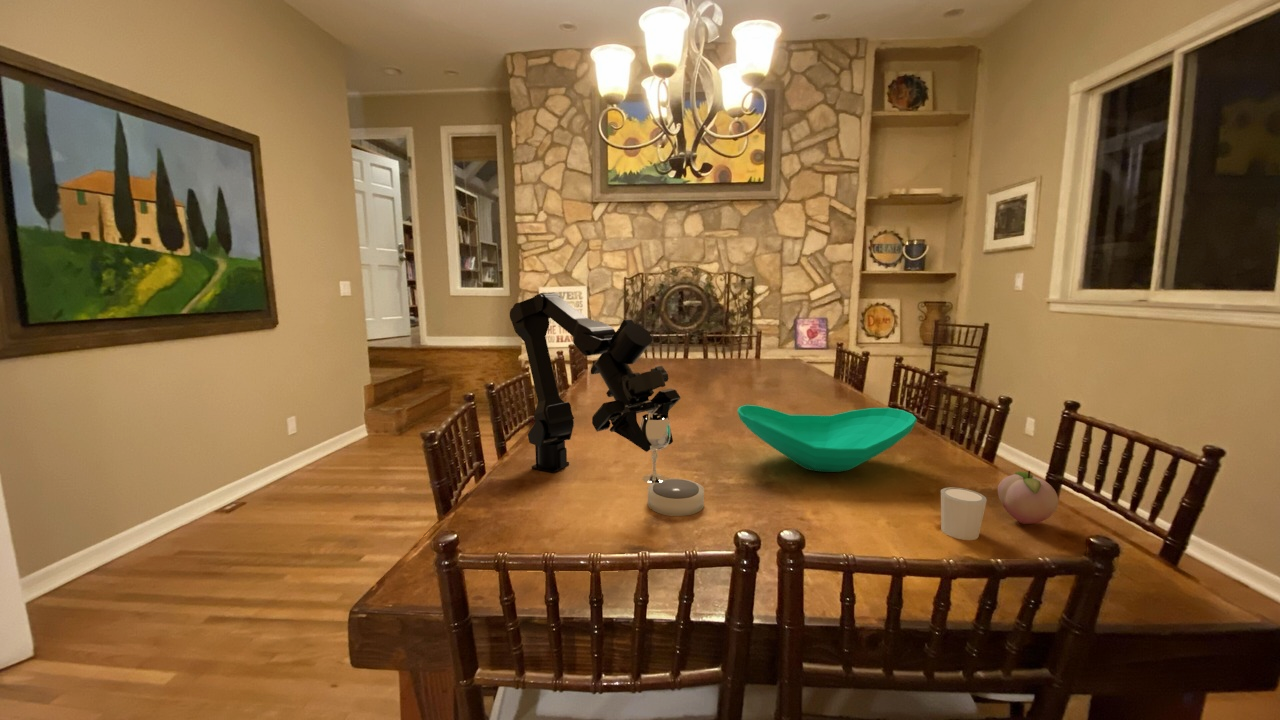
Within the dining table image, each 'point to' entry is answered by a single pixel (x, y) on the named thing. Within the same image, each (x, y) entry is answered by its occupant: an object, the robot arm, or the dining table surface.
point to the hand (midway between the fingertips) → (660, 446)
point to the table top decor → (829, 435)
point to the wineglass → (655, 440)
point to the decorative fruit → (1027, 497)
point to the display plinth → (676, 497)
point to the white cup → (962, 512)
